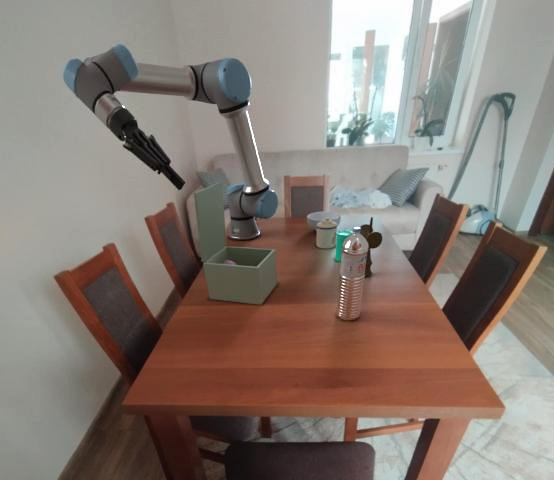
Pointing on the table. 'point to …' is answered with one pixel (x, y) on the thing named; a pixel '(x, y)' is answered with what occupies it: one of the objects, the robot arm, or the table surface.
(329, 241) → the teacup with lid
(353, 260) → the water bottle
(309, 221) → the cereal bowl
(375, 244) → the kendama
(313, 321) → the table surface
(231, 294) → the chest
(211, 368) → the table surface
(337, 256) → the candle
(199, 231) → the green box lid
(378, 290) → the table surface
